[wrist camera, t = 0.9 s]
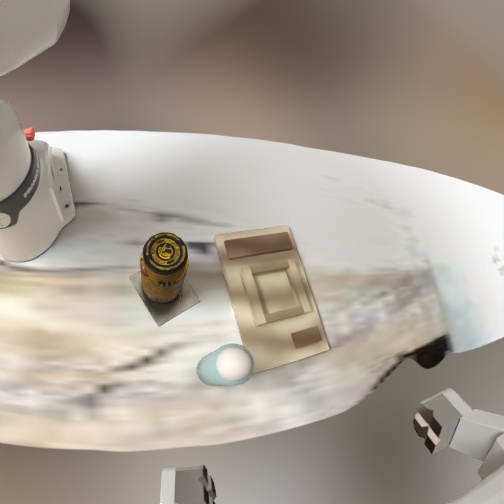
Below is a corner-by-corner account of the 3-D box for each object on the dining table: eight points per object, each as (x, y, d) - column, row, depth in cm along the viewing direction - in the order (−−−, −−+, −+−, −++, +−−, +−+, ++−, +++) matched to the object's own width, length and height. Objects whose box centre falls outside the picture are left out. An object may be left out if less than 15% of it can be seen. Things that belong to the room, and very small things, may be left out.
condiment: (170, 255, 48) (176, 216, 37) (199, 301, 46) (214, 274, 36) (129, 277, 45) (122, 242, 34) (158, 326, 43) (159, 306, 33)
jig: (214, 238, 51) (217, 229, 49) (285, 228, 56) (292, 220, 53) (251, 373, 44) (258, 373, 41) (325, 350, 49) (335, 347, 46)
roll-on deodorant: (193, 359, 43) (210, 346, 30) (222, 352, 44) (252, 336, 31) (201, 388, 41) (222, 389, 28) (230, 381, 43) (264, 378, 30)
